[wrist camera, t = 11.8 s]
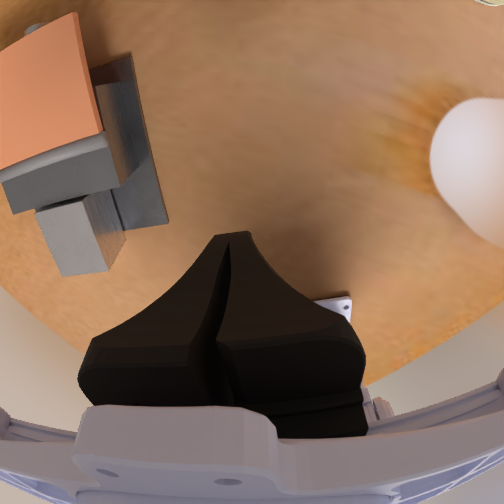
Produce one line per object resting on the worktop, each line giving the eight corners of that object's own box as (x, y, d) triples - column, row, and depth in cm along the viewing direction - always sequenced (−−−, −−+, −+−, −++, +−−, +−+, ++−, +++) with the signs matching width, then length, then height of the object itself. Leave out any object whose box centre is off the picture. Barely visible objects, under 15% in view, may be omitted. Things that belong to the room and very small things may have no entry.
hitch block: (168, 221, 23) (156, 251, 19) (51, 241, 23) (28, 269, 20) (132, 56, 16) (107, 54, 13) (8, 107, 17) (-26, 120, 13)
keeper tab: (110, 143, 15) (104, 149, 15) (-1, 181, 16) (-8, 187, 15) (80, 12, 11) (72, 11, 10) (-32, 77, 11) (-41, 80, 10)
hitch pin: (126, 239, 23) (108, 271, 19) (83, 246, 23) (62, 276, 19) (72, 16, 13) (40, 11, 10) (27, 39, 14) (-8, 41, 10)
